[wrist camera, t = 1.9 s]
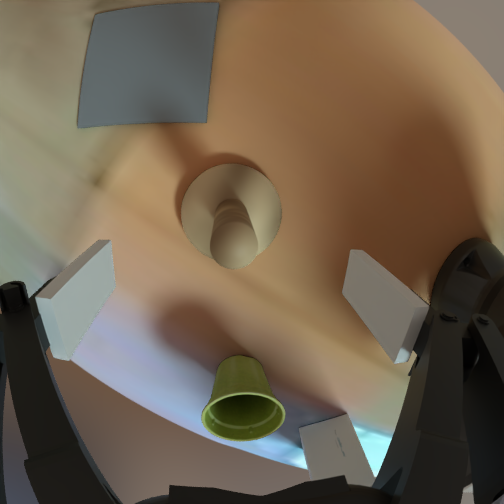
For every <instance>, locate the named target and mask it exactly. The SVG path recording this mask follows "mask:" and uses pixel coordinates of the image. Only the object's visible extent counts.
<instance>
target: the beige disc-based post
mask: <svg viewBox="0 0 504 504" xmlns="http://www.w3.org/2000/svg"><path fill="white" fill-rule="evenodd" d="M281 217H282V209H281V202H280V198H279V196H278V193H277V191H276V189H275V188H274V186H273V185H272V183H271V182H270V181H269V180H268V179H267V178H266V177H265V176H264V175H263V174H261V173H260V172H258V171H257V170H255V169H253V168H251V167H248V166H245V165H241V164H222V165H218V166H214V167H212V168H210V169H208V170H206V171H205V172H203V173H202V174H200V175H199V176H198V177H197V178H196V179H195V180H194V181H193V182H192V183H191V185H190V186H189V188H188V189H187V191H186V193H185V196H184V198H183V202H182V206H181V220H182V226H183V229H184V232H185V234H186V236H187V238H188V239H189V241H190V242H191V243H192V245H193V246H194V247H195V248H196V249H197V250H198V251H200V252H201V253H202V254H204V255H206V256H208V257H209V258H212V259H214V260H215V261H216V262H217V263H218V264H219V265H221V266H223V267H225V268H228V269H239V268H243V267H245V266H247V265H248V264H250V263H251V262H252V261H253V260H254V258H255V257H256V255H258V254H260V253H261V252H262V251H264V250H265V249H266V248H267V247H268V246H269V245H270V244H271V242H272V241H273V239H274V238H275V236H276V234H277V232H278V230H279V227H280V223H281Z"/></svg>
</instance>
